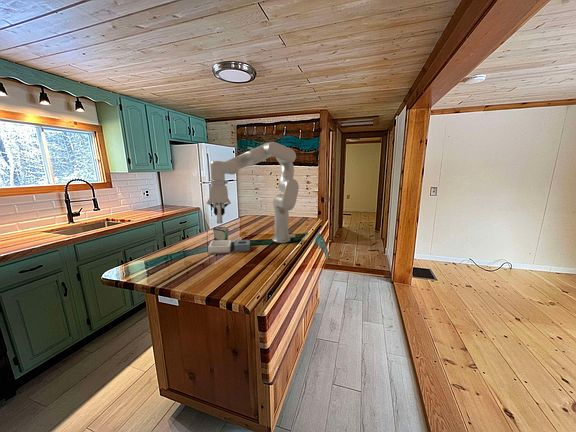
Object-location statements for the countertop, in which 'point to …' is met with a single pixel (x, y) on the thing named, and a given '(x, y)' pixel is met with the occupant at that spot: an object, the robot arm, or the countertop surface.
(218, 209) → the steel pin
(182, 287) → the countertop surface
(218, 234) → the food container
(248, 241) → the block
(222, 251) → the parts tray
